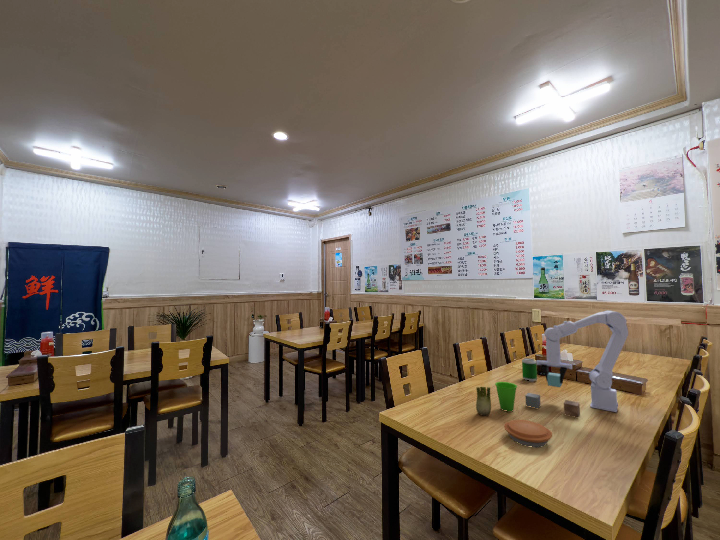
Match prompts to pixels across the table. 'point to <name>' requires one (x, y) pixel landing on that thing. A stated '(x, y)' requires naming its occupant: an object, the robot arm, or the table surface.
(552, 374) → the teal block
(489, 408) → the fennel bulb
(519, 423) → the pie
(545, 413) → the table surface
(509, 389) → the cup
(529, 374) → the soda can
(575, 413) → the walnut block
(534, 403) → the charcoal block
